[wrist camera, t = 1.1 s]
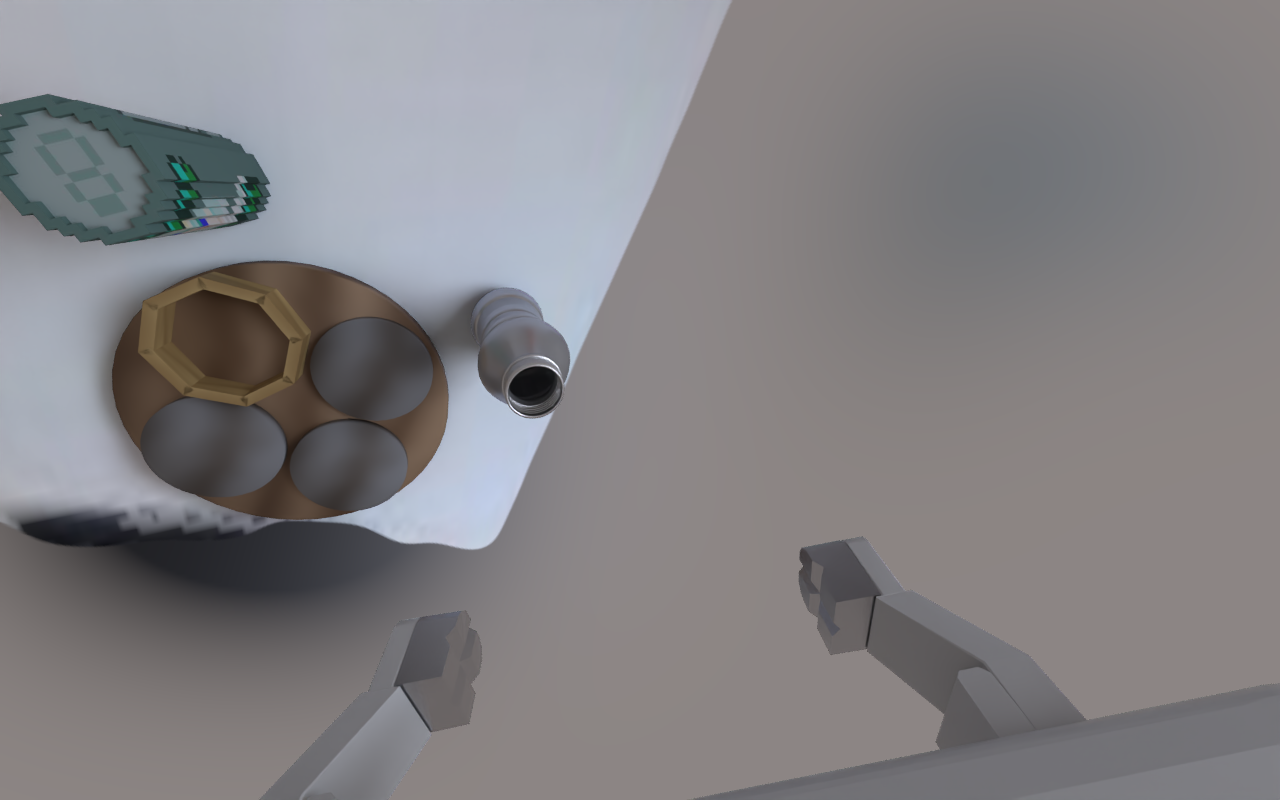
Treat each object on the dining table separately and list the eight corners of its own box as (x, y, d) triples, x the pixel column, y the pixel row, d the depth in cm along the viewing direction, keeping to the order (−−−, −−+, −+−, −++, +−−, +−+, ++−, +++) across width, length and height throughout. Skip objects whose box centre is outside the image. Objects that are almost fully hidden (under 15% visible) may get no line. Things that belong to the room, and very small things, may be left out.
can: (202, 234, 36) (58, 258, 23) (142, 146, 33) (-62, 117, 20) (286, 210, 37) (194, 221, 24) (235, 124, 34) (99, 82, 21)
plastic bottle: (454, 319, 44) (454, 400, 27) (504, 268, 44) (535, 317, 27) (506, 361, 47) (535, 458, 30) (553, 314, 47) (608, 385, 30)
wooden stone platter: (116, 489, 40) (80, 520, 36) (141, 212, 34) (101, 214, 30) (416, 520, 51) (413, 547, 47) (477, 313, 45) (478, 325, 41)
